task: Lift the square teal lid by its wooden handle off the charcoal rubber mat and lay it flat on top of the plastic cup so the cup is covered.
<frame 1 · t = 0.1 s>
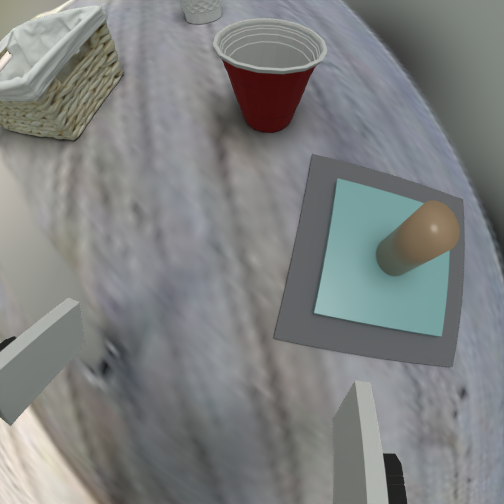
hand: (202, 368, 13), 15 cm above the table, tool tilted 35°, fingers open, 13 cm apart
lid: (390, 258, 29), resting on mat
plastic cup: (269, 115, 35), on the table
mat: (388, 259, 29), on the table
white cup: (204, 17, 42), on the table
storage basket: (59, 104, 38), on the table
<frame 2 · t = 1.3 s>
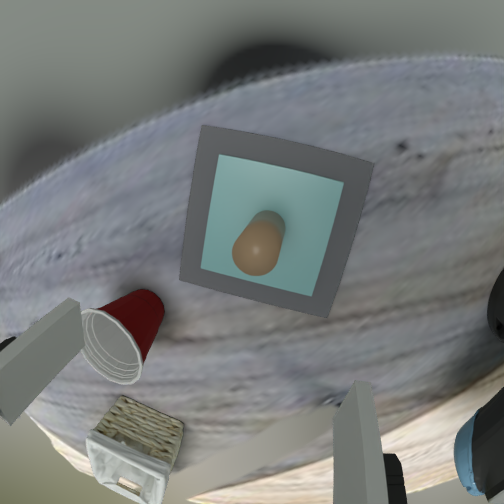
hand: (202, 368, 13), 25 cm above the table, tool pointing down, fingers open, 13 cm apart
lid: (268, 225, 35), resting on mat
plastic cup: (146, 304, 43), on the table
mat: (269, 224, 36), on the table
storage basket: (150, 432, 55), on the table
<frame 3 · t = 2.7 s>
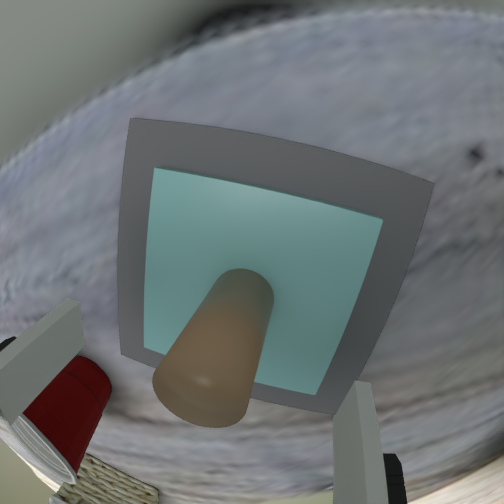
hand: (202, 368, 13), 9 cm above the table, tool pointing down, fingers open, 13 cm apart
lid: (245, 290, 20), resting on mat
plastic cup: (90, 374, 28), on the table
mat: (246, 288, 21), on the table
storage basket: (125, 488, 40), on the table
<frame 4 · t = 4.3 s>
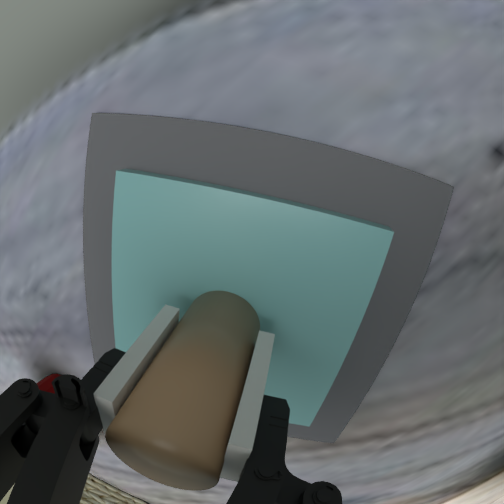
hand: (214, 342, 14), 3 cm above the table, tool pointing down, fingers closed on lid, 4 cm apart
lid: (227, 314, 17), resting on mat, touching gripper
mat: (229, 310, 17), on the table
storage basket: (116, 500, 37), on the table
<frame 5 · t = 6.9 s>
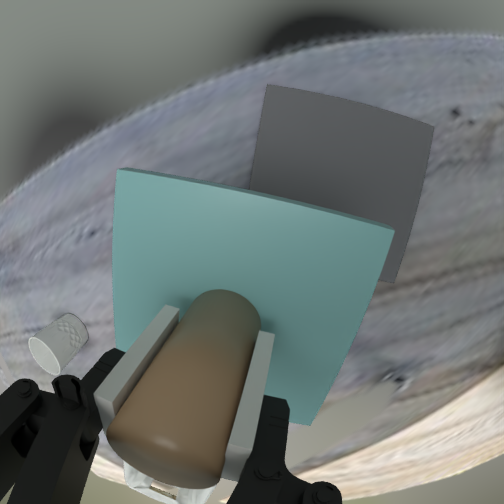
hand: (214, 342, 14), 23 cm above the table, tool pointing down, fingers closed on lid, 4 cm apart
lid: (228, 313, 17), point 21 cm above the table, touching gripper
mat: (338, 185, 33), on the table
white cup: (75, 328, 49), on the table
storage basket: (188, 429, 53), on the table
when the fingers open (16 cm above the table, at t = 9.5 s): lid drops 1 cm, resting on plastic cup.
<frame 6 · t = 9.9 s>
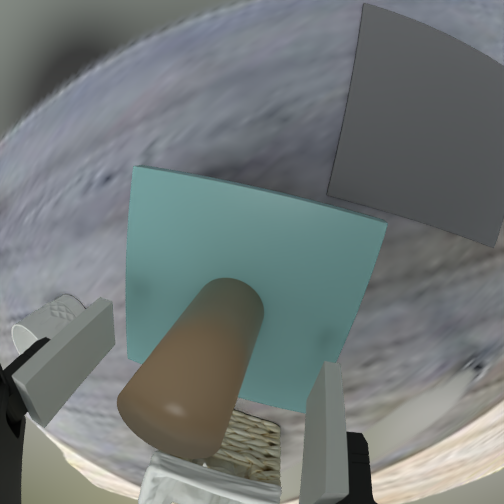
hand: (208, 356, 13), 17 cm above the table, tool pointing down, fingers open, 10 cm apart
lid: (233, 301, 18), point 12 cm above the table, touching plastic cup
mat: (445, 125, 22), on the table
white cup: (74, 314, 38), on the table
storage basket: (218, 441, 42), on the table
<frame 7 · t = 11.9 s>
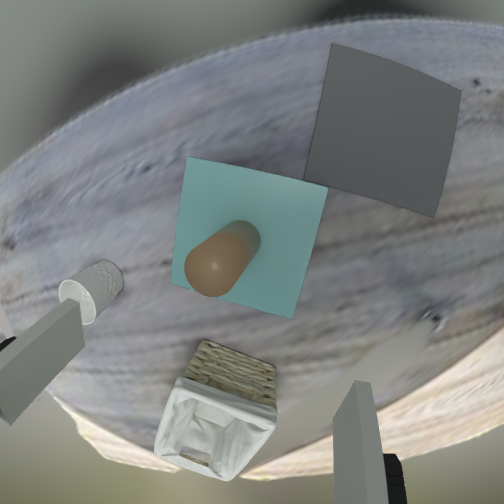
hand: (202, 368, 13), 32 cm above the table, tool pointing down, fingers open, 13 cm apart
lid: (243, 237, 31), point 12 cm above the table, touching plastic cup
mat: (389, 129, 35), on the table
white cup: (109, 277, 50), on the table
storage basket: (224, 387, 55), on the table
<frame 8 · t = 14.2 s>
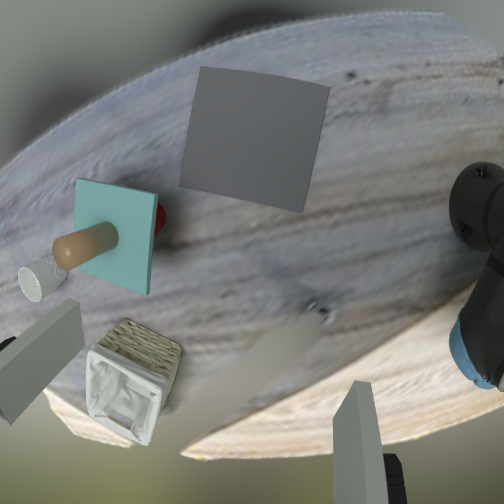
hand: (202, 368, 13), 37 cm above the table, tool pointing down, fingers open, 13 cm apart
lid: (112, 233, 39), point 12 cm above the table, touching plastic cup
mat: (251, 135, 44), on the table
white cup: (58, 267, 59), on the table
storage basket: (147, 363, 63), on the table
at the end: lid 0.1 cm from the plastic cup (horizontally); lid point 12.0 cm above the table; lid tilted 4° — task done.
